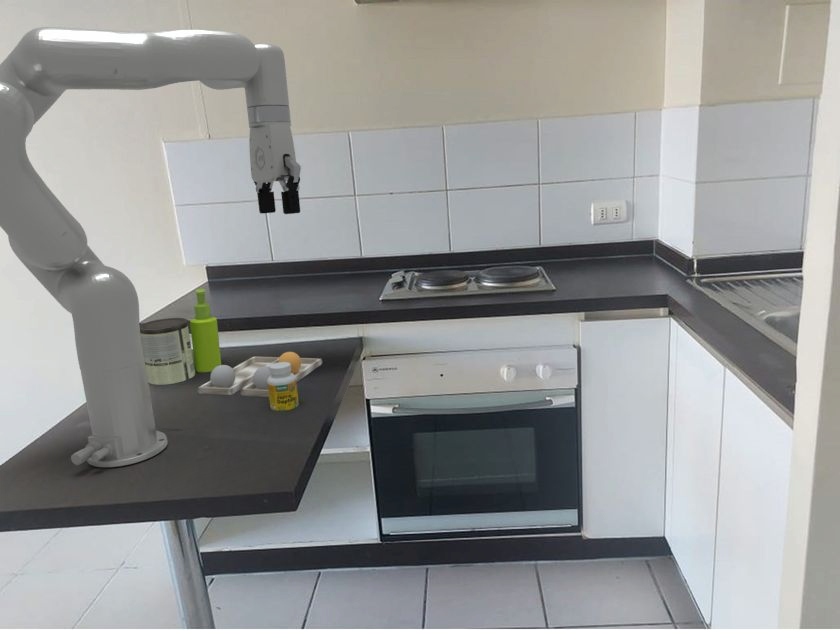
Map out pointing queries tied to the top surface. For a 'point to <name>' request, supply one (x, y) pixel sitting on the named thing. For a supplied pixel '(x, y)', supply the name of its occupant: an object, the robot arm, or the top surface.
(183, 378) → the coffee can
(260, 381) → the grey ball front
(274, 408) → the supplement bottle
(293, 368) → the orange ball
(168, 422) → the top surface
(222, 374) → the grey ball back
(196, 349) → the soap dispenser
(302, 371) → the trough board
